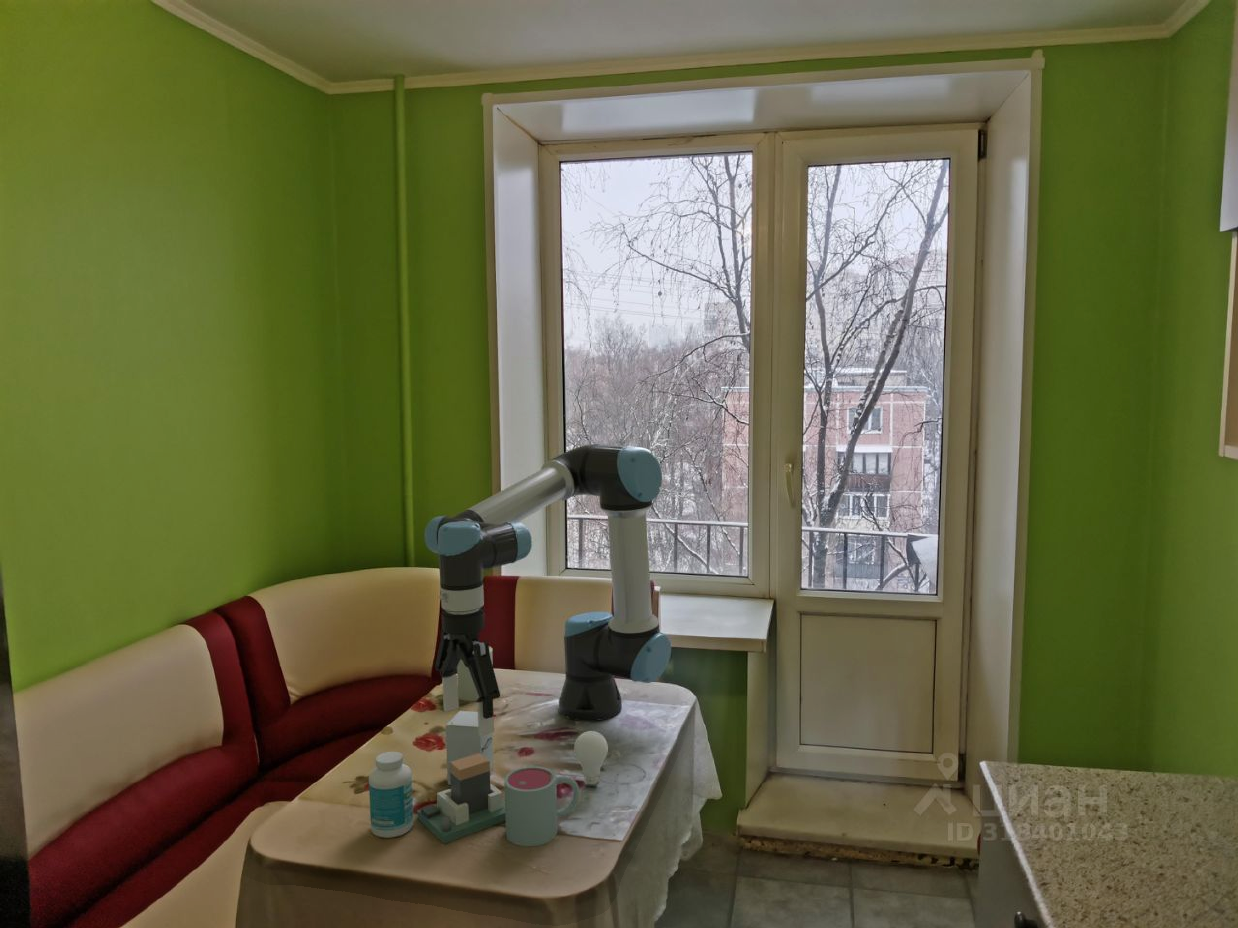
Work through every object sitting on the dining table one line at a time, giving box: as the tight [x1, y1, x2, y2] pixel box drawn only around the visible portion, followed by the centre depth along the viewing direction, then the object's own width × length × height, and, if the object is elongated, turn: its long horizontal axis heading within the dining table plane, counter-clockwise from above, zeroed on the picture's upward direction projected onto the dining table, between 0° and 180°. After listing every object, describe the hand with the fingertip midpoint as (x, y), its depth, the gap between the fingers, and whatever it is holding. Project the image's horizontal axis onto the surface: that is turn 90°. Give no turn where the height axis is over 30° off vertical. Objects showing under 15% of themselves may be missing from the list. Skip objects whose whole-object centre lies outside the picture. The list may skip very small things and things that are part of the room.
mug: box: [503, 765, 581, 847], centre depth 152 cm, size 14×9×10 cm
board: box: [416, 782, 506, 845], centre depth 157 cm, size 14×11×4 cm
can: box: [456, 645, 494, 702], centre depth 216 cm, size 9×9×12 cm
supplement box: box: [445, 710, 494, 786], centre depth 172 cm, size 7×7×13 cm
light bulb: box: [573, 730, 609, 787], centre depth 168 cm, size 7×7×11 cm
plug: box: [450, 753, 491, 815], centre depth 157 cm, size 6×4×9 cm, turn 127°
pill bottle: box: [368, 751, 414, 839], centre depth 153 cm, size 8×7×14 cm
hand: (468, 721), depth 156 cm, fingers open, 13 cm apart
